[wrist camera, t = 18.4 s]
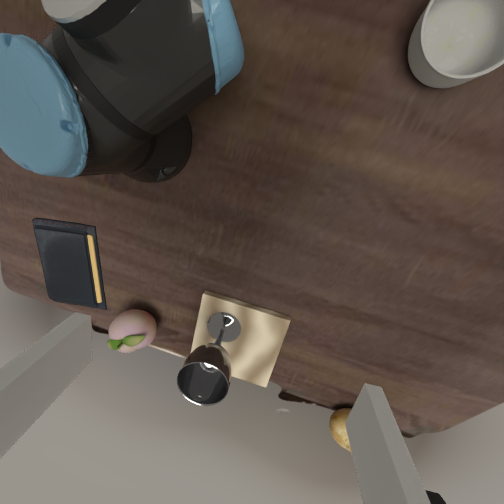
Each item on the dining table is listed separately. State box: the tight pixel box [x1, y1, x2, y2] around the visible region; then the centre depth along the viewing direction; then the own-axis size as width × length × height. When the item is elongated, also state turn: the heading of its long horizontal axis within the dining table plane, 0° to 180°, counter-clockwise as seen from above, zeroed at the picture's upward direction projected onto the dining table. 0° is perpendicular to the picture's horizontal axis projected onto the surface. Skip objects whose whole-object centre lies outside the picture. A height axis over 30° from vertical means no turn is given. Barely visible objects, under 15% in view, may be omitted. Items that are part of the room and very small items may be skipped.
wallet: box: [32, 218, 107, 310], centre depth 56 cm, size 20×2×15 cm
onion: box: [330, 408, 352, 454], centre depth 54 cm, size 8×8×7 cm
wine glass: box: [177, 312, 241, 406], centre depth 45 cm, size 8×8×15 cm
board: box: [191, 290, 291, 387], centre depth 54 cm, size 18×18×2 cm
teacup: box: [408, 0, 504, 88], centre depth 30 cm, size 14×11×8 cm
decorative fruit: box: [107, 309, 157, 353], centre depth 52 cm, size 9×8×10 cm
